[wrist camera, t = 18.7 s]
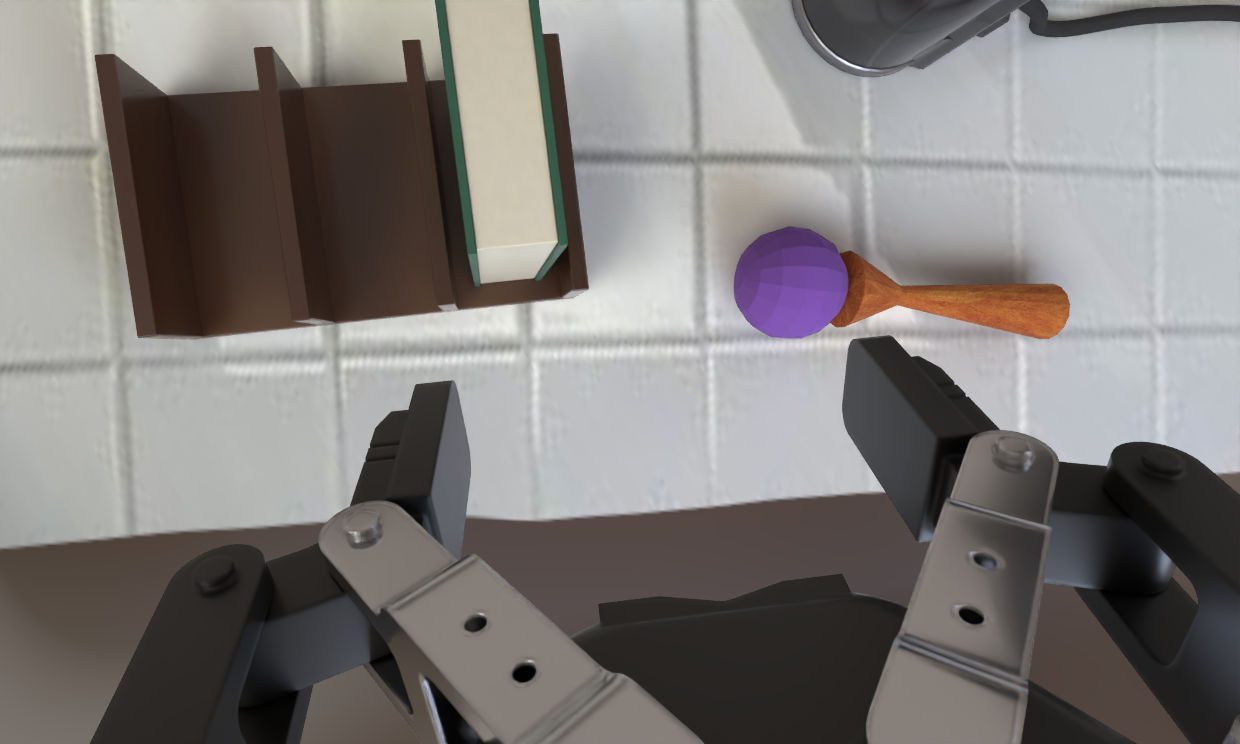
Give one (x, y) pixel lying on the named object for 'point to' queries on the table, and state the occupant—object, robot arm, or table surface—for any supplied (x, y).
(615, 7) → the table surface
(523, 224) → the book
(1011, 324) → the kendama
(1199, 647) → the robot arm
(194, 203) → the rack
